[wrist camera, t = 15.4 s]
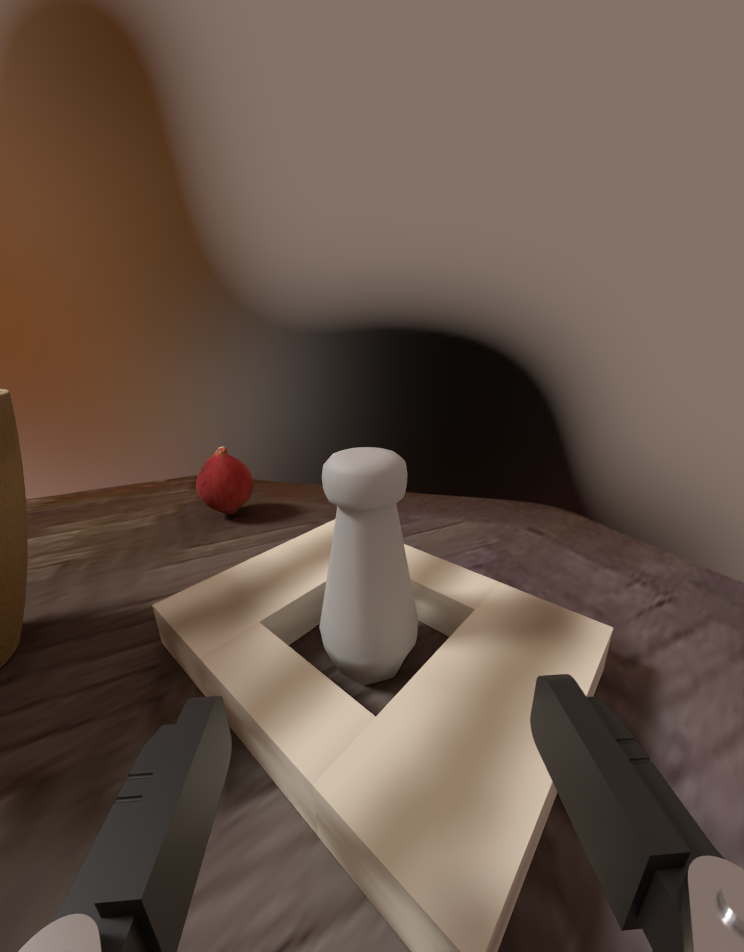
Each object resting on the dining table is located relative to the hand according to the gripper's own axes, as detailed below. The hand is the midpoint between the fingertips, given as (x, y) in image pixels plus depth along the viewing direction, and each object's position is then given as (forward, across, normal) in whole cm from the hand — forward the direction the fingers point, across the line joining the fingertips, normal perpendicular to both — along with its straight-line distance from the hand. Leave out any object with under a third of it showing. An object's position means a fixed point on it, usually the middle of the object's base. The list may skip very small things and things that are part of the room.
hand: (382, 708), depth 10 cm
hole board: (+11, 0, +9) cm, 14 cm away
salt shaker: (+11, 0, +10) cm, 15 cm away
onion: (+33, +15, +10) cm, 37 cm away
